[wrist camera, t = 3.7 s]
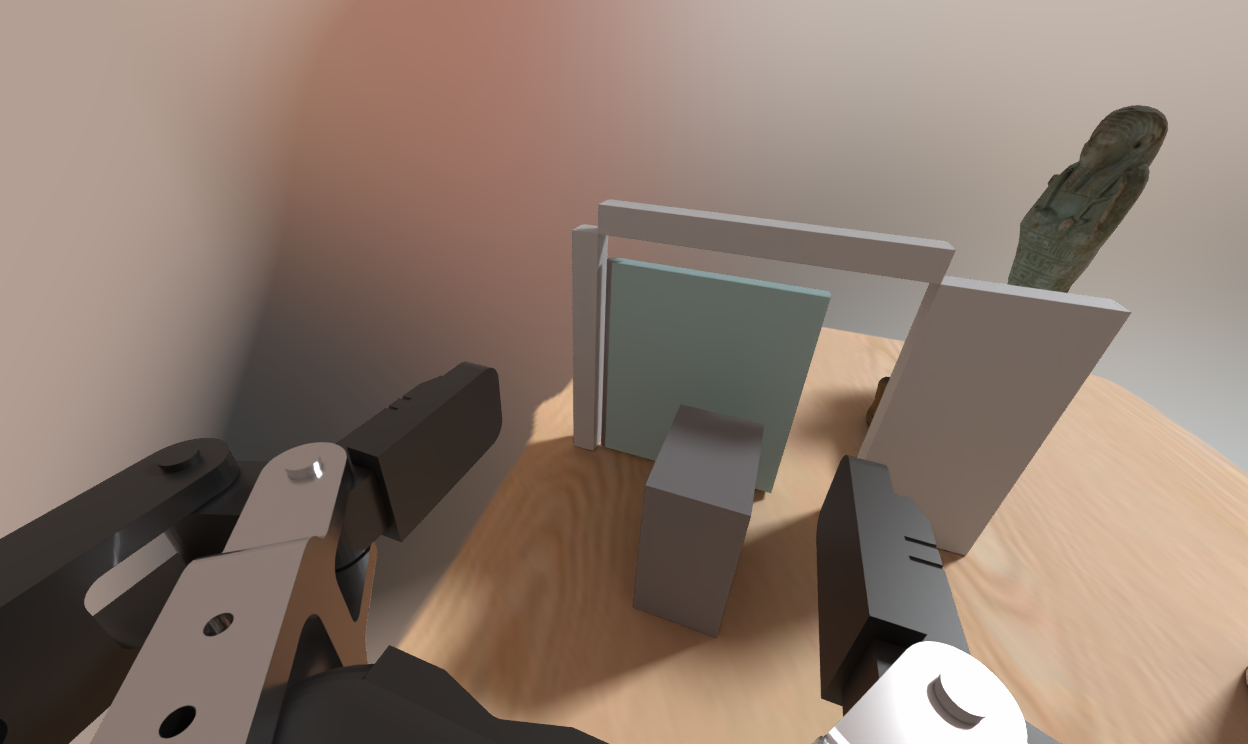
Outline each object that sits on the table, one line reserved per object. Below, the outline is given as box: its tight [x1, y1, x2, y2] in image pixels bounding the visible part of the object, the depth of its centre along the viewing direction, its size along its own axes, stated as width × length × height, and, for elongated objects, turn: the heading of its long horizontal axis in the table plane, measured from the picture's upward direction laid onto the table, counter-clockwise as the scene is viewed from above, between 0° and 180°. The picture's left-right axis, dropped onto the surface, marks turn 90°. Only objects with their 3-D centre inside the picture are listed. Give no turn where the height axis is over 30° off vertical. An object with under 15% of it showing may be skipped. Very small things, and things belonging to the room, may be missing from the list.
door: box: [601, 258, 830, 493], centre depth 37 cm, size 16×2×18 cm, turn 70°
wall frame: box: [572, 199, 1131, 556], centre depth 34 cm, size 32×2×22 cm, turn 70°
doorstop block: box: [633, 404, 764, 638], centre depth 29 cm, size 6×8×11 cm
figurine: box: [1007, 105, 1168, 293], centre depth 48 cm, size 9×7×30 cm
